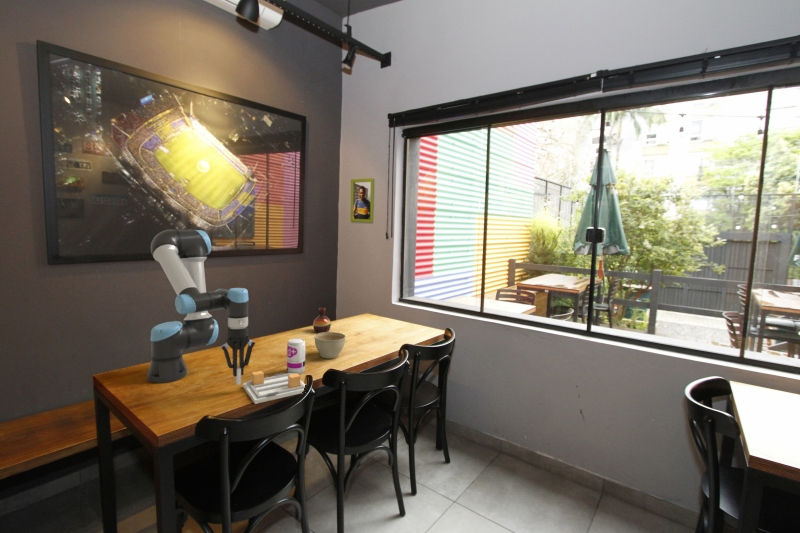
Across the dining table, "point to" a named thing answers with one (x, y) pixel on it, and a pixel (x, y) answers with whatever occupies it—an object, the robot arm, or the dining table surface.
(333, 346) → the planter bowl
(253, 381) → the orange block
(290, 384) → the tab
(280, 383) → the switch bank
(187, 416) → the dining table surface
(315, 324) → the vase
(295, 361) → the supplement can
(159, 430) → the dining table surface
